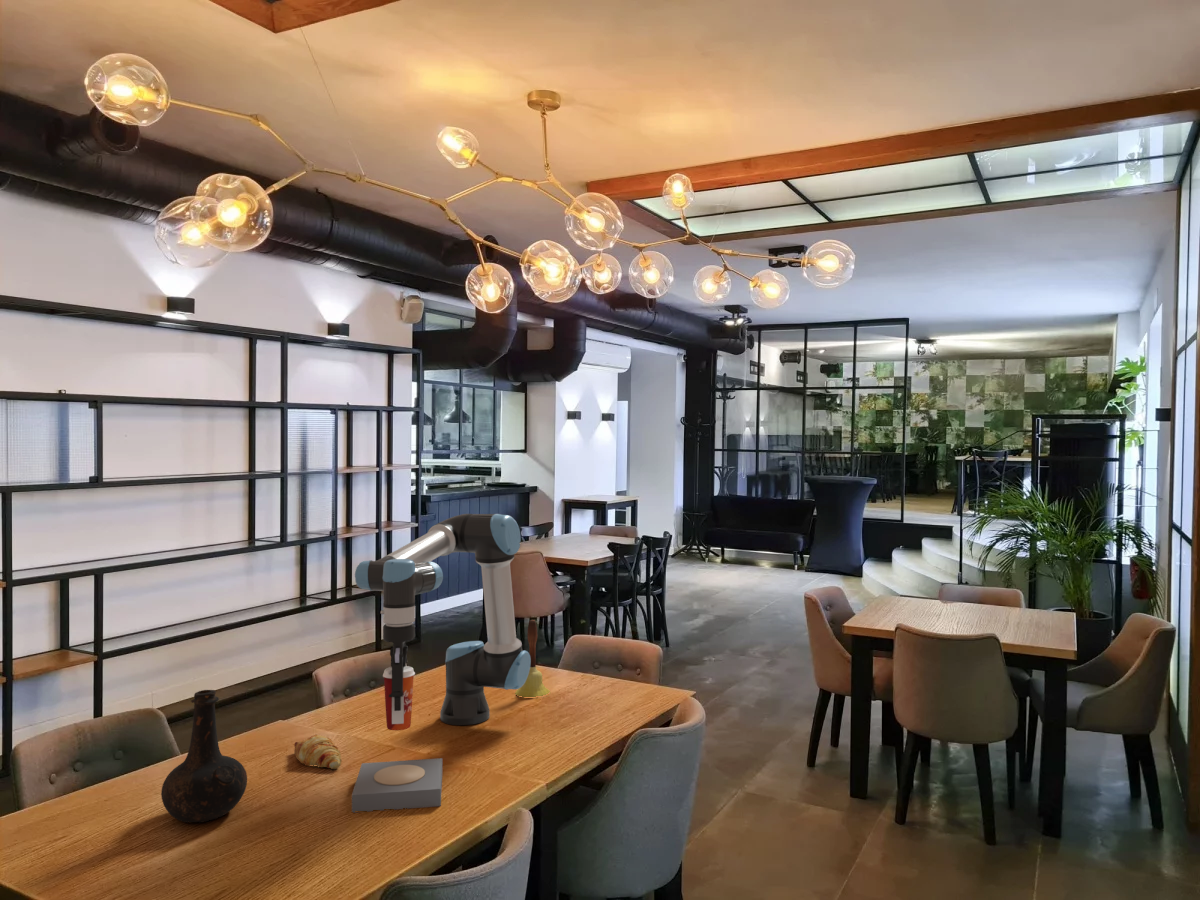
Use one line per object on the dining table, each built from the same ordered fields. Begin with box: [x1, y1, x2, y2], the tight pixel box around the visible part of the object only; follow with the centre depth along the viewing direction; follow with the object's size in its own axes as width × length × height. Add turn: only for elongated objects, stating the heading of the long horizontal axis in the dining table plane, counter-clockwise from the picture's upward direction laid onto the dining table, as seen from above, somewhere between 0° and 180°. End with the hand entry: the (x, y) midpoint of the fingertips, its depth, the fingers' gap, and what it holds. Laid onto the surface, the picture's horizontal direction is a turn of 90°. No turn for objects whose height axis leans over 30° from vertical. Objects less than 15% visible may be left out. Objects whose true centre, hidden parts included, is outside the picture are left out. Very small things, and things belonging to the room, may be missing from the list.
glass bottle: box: [161, 689, 248, 823], centre depth 191 cm, size 18×18×28 cm
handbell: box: [514, 619, 551, 697], centre depth 286 cm, size 12×12×25 cm
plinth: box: [351, 757, 443, 813], centre depth 203 cm, size 20×20×4 cm
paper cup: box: [382, 665, 416, 731], centre depth 203 cm, size 8×8×14 cm
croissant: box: [294, 734, 342, 770], centre depth 224 cm, size 21×10×8 cm, turn 50°
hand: (398, 718), depth 203 cm, fingers closed on paper cup, 7 cm apart
